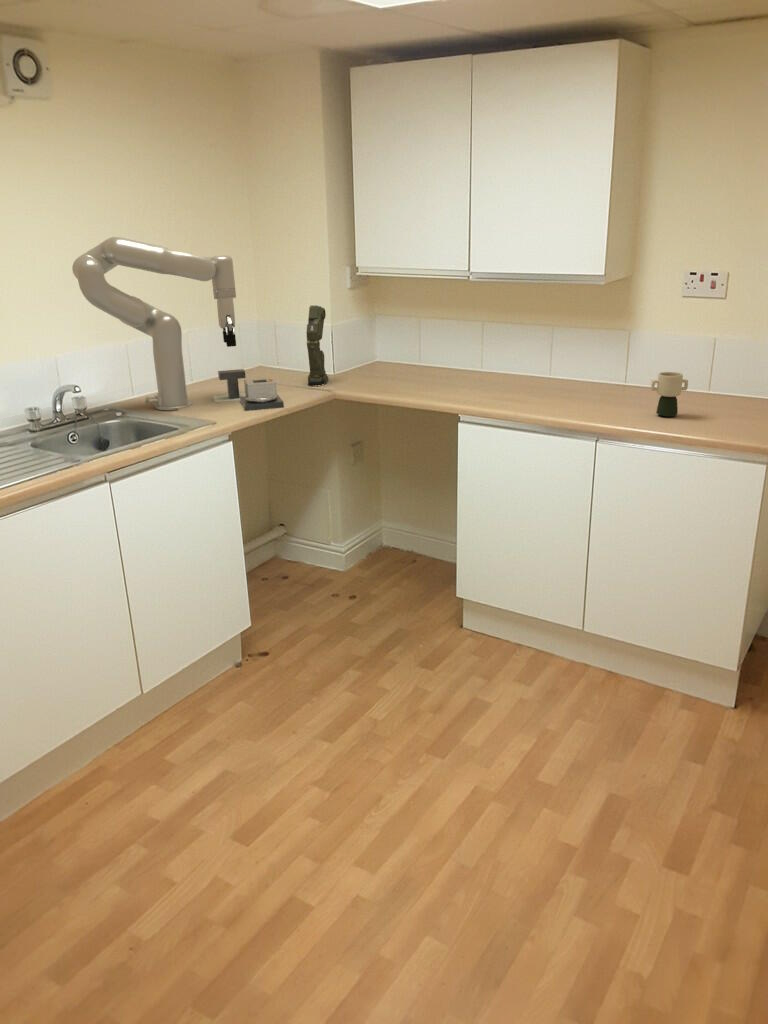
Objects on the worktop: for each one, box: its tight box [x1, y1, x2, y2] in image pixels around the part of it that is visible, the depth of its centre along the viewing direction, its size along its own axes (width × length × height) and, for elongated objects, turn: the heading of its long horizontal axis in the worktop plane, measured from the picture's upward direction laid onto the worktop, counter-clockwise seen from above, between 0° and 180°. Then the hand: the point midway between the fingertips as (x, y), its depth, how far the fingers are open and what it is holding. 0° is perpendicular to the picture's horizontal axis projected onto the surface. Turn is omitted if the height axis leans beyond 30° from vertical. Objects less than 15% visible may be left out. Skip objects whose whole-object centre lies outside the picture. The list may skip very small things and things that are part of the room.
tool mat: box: [212, 393, 246, 403], centre depth 295 cm, size 12×10×1 cm
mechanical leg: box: [305, 305, 329, 386], centre depth 314 cm, size 14×7×30 cm, turn 168°
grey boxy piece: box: [243, 377, 278, 402], centre depth 283 cm, size 11×11×6 cm
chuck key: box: [217, 368, 247, 399], centre depth 293 cm, size 9×4×9 cm, turn 106°
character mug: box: [650, 371, 689, 417], centre depth 253 cm, size 11×7×13 cm, turn 87°
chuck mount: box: [239, 393, 285, 412], centre depth 284 cm, size 13×13×2 cm
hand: (230, 344), depth 288 cm, fingers open, 9 cm apart
